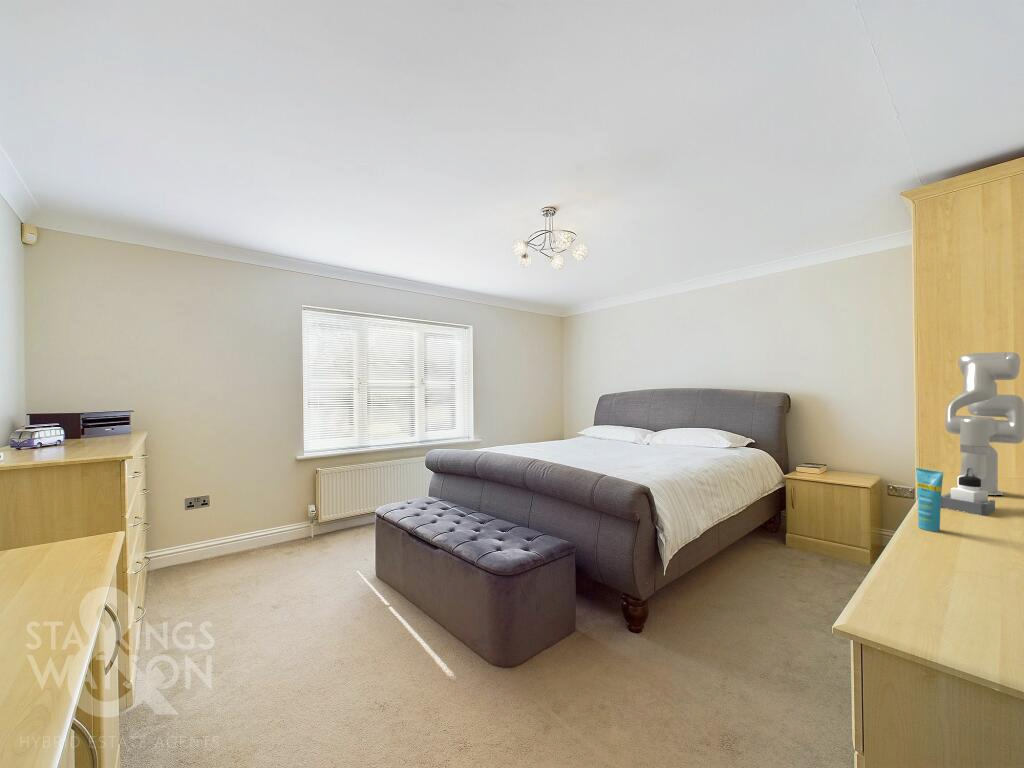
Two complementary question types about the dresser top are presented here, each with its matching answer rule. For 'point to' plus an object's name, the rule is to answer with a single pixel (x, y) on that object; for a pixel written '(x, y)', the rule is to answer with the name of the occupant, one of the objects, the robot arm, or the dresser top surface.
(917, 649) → the dresser top surface
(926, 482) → the tube
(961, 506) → the box
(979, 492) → the medicine bottle
